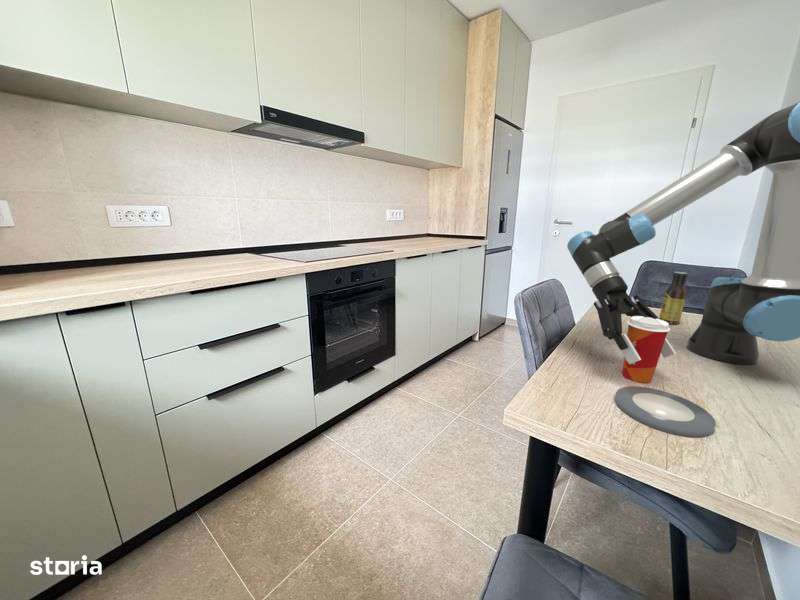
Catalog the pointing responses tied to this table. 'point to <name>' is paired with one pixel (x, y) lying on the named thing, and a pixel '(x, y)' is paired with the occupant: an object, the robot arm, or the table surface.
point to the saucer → (665, 411)
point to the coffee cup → (645, 347)
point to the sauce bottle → (674, 299)
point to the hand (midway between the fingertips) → (653, 358)
